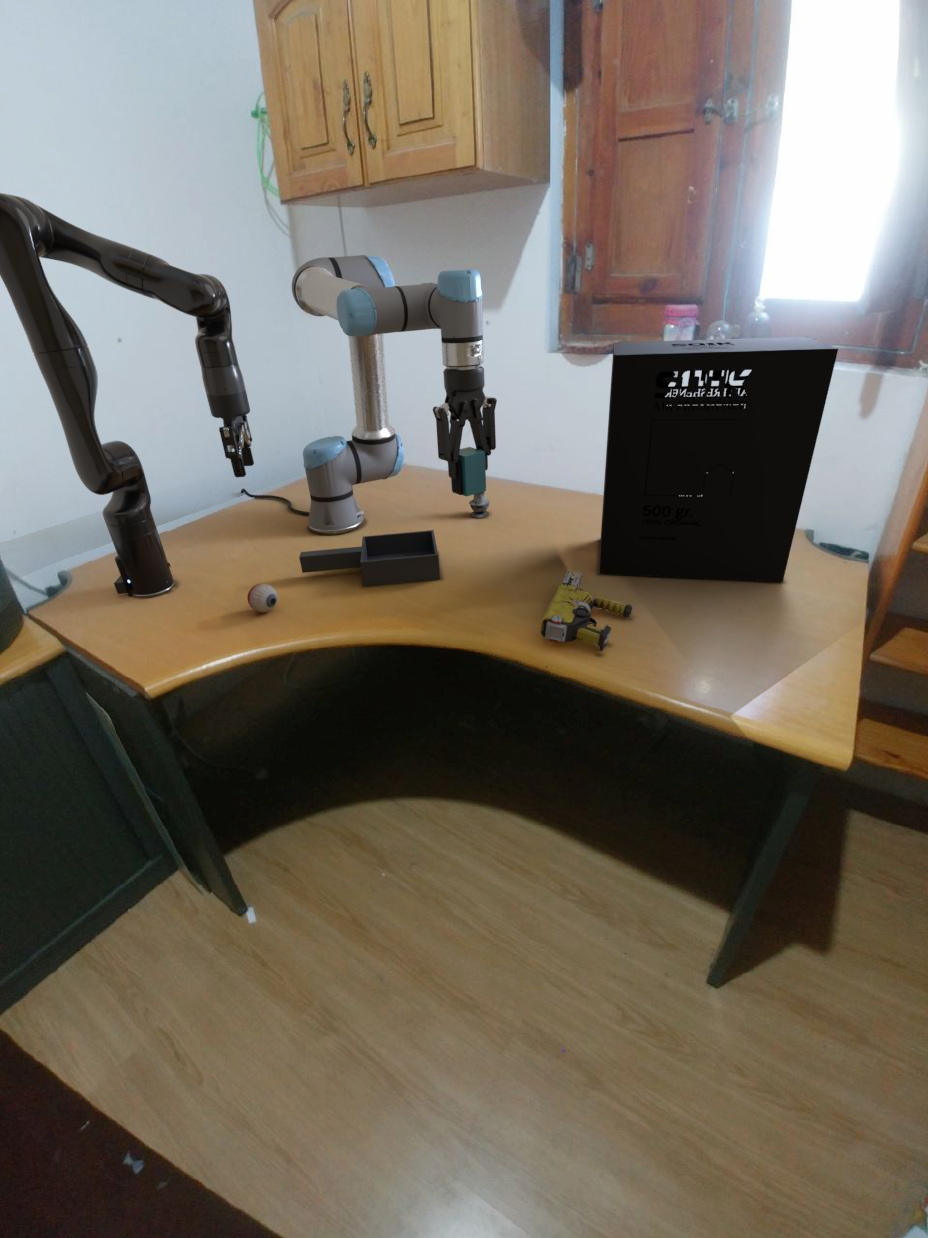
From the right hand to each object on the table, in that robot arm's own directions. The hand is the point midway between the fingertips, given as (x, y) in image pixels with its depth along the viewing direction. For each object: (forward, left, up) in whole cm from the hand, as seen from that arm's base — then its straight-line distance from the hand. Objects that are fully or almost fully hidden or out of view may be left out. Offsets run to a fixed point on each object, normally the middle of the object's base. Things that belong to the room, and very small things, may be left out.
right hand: (469, 489), depth 122 cm
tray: (-22, -14, -22) cm, 34 cm away
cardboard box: (+22, +44, -22) cm, 54 cm away
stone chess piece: (-34, +28, -22) cm, 49 cm away
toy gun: (+27, +8, -22) cm, 36 cm away
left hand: (-34, -34, +4) cm, 48 cm away
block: (0, 0, 0) cm, 0 cm away
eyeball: (-20, -40, -22) cm, 50 cm away
